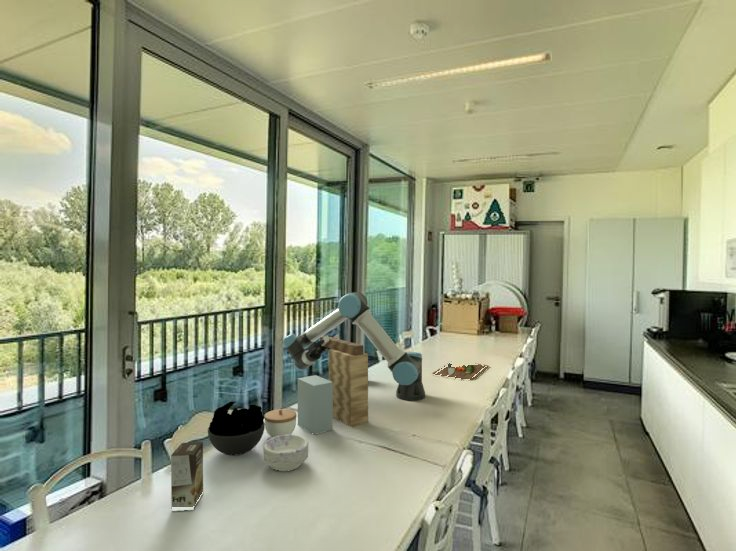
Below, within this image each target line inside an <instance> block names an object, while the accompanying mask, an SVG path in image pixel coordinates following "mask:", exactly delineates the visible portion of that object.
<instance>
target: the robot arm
mask: <svg viewBox="0 0 736 551" xmlns="http://www.w3.org/2000/svg"><path fill="white" fill-rule="evenodd" d="M368 303H369V302H368V299H367V297H366V296H365V294H363V293H362V292H358V291H354V292H348V293H346V294H344V295H343V296H341V297H340V299H339V301H338V304H337V308H336V309H335V310H334V311H332V312H331V313H329V314H328V315H327V316H325V317H323V318H322V319H321V320H319V321H318V322H317V323H315V324H314V325H312V326H311V327H309V328H308V329H307V330H305V331H303V332H302V333H301V334H299V335H297V336H296V335H295V333H290V334H289V335H287V336H286V337H284V338H283V339H282V343H283V345H284V348H285V349H286V351H287V352H288V353H289V355H290V356H291V358H292V359H293V367H294V369H295V370H297V371H299V372H303V371H305V370H306V369H309V367H310V366H313V364H314V363H315V362H317V361H318V360H320V359H321V357H322V354H323V353H325V352H329V350H331V348H328V347H324V345H325V344H326V343H327V342H329V338H328V336H329V335H326V334H328V333H330V332H331V331H332V330H333V329H335V328H336V327H337V326H339V325H341V324H342V323H343V322H345V321H347V320H349V322H350V323H351V324H352V325H357V326H358V328H359V329H360V330H361V332H362V333H363V334H364V335H365V336H366V338H367V339H368V340H369V341H370V342H371V344H373V346H374V347H375V348H376V350H377V351H378V353H380V355H381V356H382V357H383V358H384V360H385V361H386V362H387V365H386V366H387V368H388V369H389V370H390V372H391V374H392V378H393V379H394V382H396V383H397V384H398V385H397V388H396V391H395V392H396V393H395V396H396V397H397V399H400V400H405V401H420V400H423V399H425V397H426V390H425V387H424V384H423V373H422V372H423V354H422V353H421V352H415V351H406V350H405V351H403V350H401V349H400V348H399V347H398V346H397V344H396V343H395V342H394V341H393V339H392V338H391V337H390V336H389V335H388V333H387V332H386V331H385V329H383V327H382V326H381V325H380V324H379V322H378V321H377V320H376V319H375V317H374V316H373V315H372V314H371V307H369V305H368ZM324 336H325V337H324ZM320 337H324V338H323V339H322V340H321V341H320ZM333 338H336V339H340V337H339V334H337V333H336V334H335V335H333ZM318 339H319V341H318ZM316 341H317V342H316ZM321 345H322V346H321Z"/></svg>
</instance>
